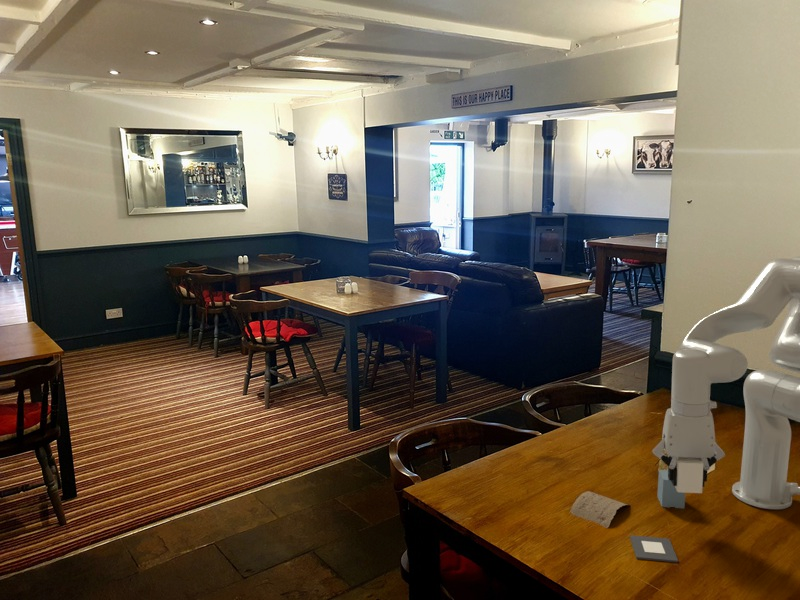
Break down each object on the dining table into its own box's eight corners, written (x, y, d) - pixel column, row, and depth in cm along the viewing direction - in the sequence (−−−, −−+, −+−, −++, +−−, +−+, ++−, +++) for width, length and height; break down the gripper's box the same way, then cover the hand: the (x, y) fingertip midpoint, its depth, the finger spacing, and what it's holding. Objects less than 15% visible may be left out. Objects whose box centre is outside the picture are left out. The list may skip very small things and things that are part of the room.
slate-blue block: (679, 498, 151) (680, 471, 149) (684, 508, 146) (686, 481, 145) (657, 496, 152) (658, 469, 150) (661, 506, 147) (663, 479, 146)
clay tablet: (607, 531, 138) (608, 520, 137) (565, 516, 144) (566, 506, 144) (632, 506, 148) (633, 496, 148) (592, 493, 155) (592, 483, 155)
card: (668, 540, 133) (669, 538, 133) (678, 562, 125) (678, 560, 125) (629, 537, 135) (629, 534, 135) (636, 558, 127) (636, 556, 127)
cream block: (695, 481, 140) (697, 453, 138) (702, 493, 135) (703, 463, 134) (672, 481, 141) (673, 452, 139) (677, 492, 136) (678, 462, 135)
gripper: (727, 400, 136) (723, 476, 140) (645, 399, 139) (643, 474, 143) (738, 413, 129) (734, 493, 132) (651, 412, 132) (649, 490, 136)
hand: (687, 482), depth 138 cm, fingers closed on cream block, 5 cm apart
